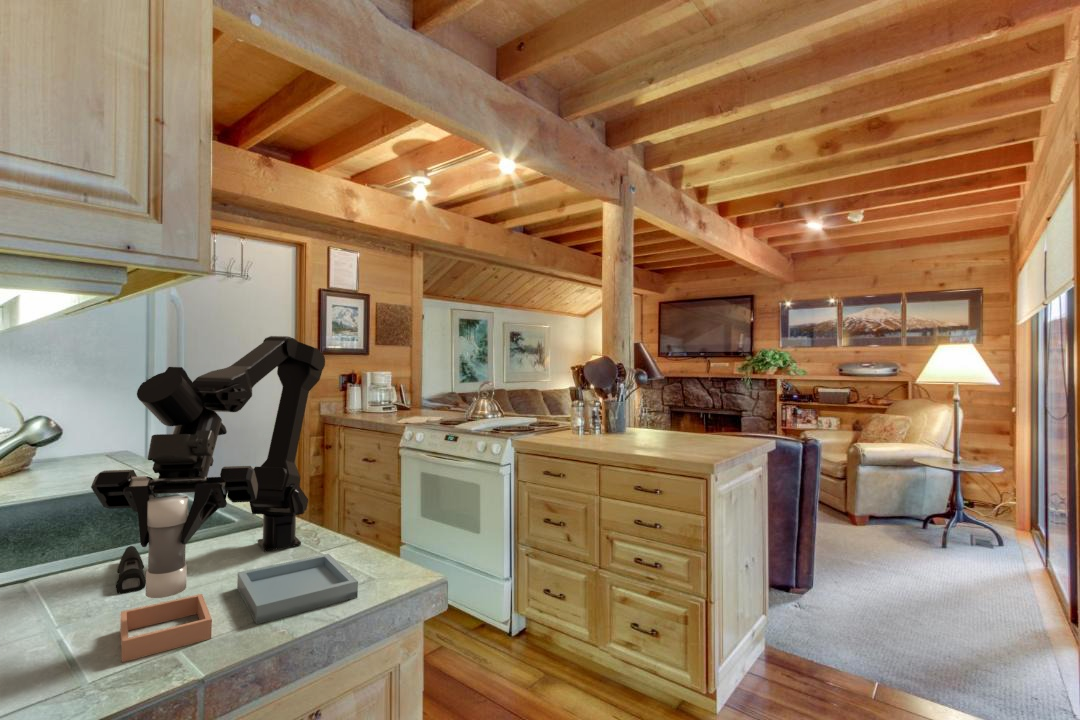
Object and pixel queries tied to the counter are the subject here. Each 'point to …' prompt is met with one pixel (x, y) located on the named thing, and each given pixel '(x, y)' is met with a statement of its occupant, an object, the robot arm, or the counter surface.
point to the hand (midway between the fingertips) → (163, 544)
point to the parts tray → (295, 587)
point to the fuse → (166, 546)
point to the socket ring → (168, 636)
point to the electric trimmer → (130, 572)
